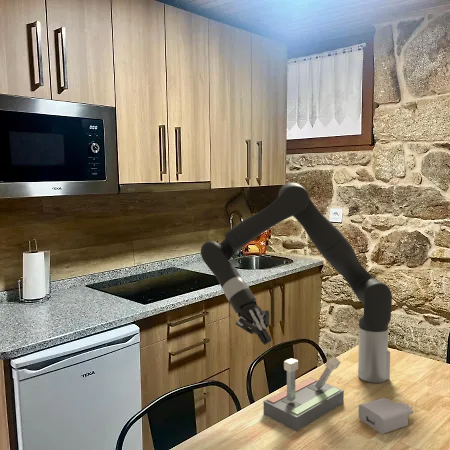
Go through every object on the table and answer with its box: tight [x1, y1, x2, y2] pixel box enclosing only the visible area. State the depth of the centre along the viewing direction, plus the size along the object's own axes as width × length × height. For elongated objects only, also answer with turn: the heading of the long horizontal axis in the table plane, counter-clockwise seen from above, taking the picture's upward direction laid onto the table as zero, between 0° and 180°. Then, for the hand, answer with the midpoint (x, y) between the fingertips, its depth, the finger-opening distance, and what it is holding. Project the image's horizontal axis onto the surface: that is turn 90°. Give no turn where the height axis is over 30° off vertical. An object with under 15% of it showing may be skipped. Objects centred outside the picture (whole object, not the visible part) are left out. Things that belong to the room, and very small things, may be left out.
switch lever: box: [283, 358, 299, 401], centre depth 123 cm, size 2×3×11 cm
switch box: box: [263, 377, 345, 432], centre depth 128 cm, size 12×22×4 cm, turn 132°
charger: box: [358, 397, 414, 435], centre depth 121 cm, size 5×9×15 cm
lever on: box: [315, 356, 341, 389], centre depth 129 cm, size 2×3×11 cm
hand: (268, 342), depth 129 cm, fingers closed
